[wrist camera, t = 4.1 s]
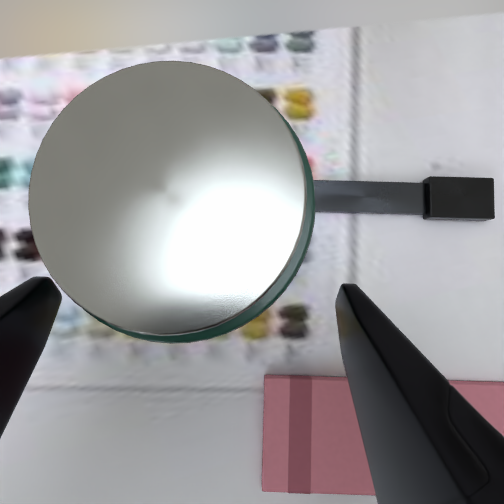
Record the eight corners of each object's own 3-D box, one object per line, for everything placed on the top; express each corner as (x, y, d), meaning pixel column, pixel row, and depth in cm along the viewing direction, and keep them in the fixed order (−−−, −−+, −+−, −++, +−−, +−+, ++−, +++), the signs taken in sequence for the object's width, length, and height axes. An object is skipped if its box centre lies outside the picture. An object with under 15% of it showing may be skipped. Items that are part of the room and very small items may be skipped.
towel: (524, 493, 17) (534, 502, 16) (261, 484, 17) (261, 492, 17) (520, 381, 18) (530, 386, 17) (264, 373, 18) (264, 377, 17)
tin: (272, 294, 18) (321, 358, 5) (182, 291, 18) (-3, 348, 5) (274, 204, 18) (326, 47, 5) (186, 202, 18) (23, 41, 5)
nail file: (484, 221, 18) (495, 218, 17) (299, 216, 18) (301, 213, 17) (483, 181, 18) (494, 177, 18) (299, 177, 18) (301, 172, 18)
